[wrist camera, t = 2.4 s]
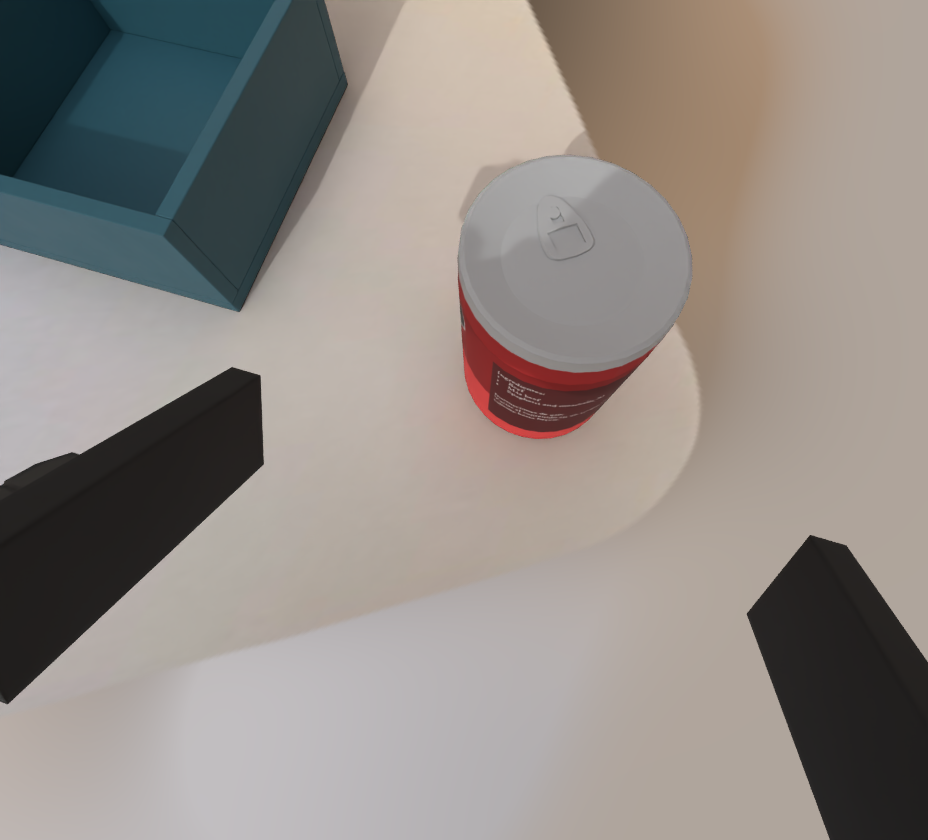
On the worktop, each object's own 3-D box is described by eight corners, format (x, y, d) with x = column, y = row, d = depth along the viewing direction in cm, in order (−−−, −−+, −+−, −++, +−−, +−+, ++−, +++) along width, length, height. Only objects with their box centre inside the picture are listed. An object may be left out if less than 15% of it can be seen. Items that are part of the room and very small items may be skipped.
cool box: (347, 84, 31) (313, -41, 25) (239, 312, 27) (162, 236, 20) (115, 32, 33) (25, -98, 26) (-22, 238, 29) (-171, 146, 22)
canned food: (542, 284, 27) (587, 115, 16) (634, 389, 25) (749, 276, 15) (435, 356, 26) (408, 226, 15) (522, 471, 24) (560, 413, 14)
